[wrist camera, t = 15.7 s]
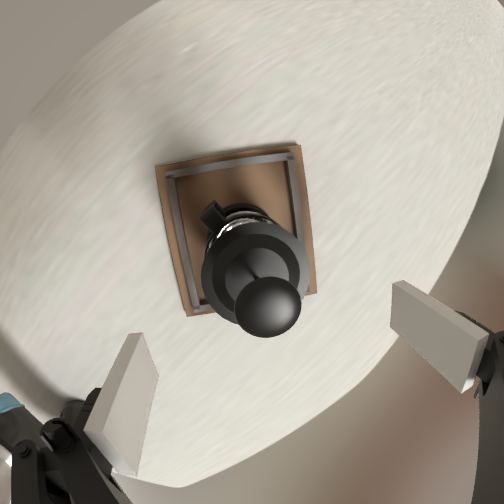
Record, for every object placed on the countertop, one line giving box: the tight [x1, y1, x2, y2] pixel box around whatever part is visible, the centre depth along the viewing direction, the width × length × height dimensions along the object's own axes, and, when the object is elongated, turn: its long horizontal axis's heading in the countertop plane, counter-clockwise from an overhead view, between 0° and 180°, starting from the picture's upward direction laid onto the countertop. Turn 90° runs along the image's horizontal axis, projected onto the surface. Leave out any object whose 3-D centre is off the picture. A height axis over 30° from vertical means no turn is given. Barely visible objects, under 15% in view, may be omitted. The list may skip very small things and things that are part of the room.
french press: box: [199, 200, 310, 338], centre depth 28 cm, size 12×9×23 cm
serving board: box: [156, 145, 317, 317], centre depth 39 cm, size 20×22×2 cm
